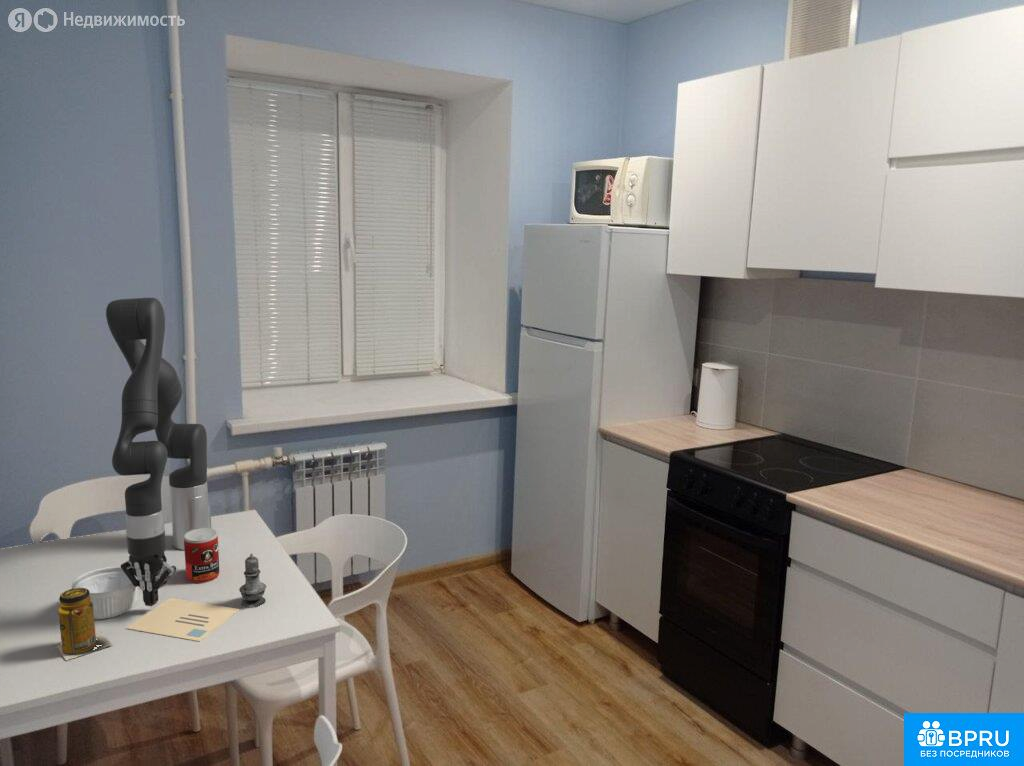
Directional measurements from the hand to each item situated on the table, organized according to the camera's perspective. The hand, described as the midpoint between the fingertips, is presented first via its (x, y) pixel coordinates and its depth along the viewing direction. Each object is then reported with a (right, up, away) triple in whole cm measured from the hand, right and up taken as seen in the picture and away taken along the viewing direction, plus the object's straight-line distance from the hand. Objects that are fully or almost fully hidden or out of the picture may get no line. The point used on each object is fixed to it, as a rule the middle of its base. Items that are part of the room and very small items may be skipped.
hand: (151, 604), depth 167 cm
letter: (+8, -2, -3) cm, 9 cm away
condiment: (-7, -5, -14) cm, 16 cm away
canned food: (+4, +1, +18) cm, 18 cm away
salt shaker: (+21, -1, +6) cm, 22 cm away
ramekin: (-10, -1, +1) cm, 10 cm away
